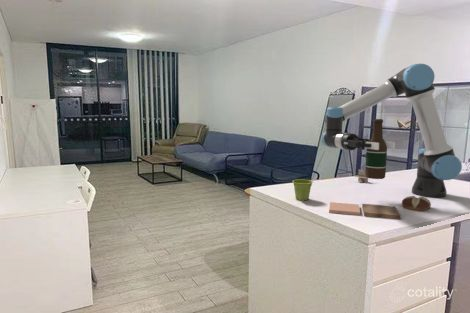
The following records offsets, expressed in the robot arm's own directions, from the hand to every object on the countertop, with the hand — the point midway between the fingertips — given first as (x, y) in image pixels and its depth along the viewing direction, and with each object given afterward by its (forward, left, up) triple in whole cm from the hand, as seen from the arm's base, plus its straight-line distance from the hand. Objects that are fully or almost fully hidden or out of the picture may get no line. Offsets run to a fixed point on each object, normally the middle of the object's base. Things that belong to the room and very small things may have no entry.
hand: (386, 146), depth 129 cm
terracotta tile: (+15, -2, -28) cm, 31 cm away
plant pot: (+34, -14, -28) cm, 46 cm away
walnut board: (+1, -2, -28) cm, 28 cm away
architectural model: (+4, -64, -29) cm, 70 cm away
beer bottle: (+3, -4, -14) cm, 15 cm away
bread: (-15, -15, -28) cm, 35 cm away
